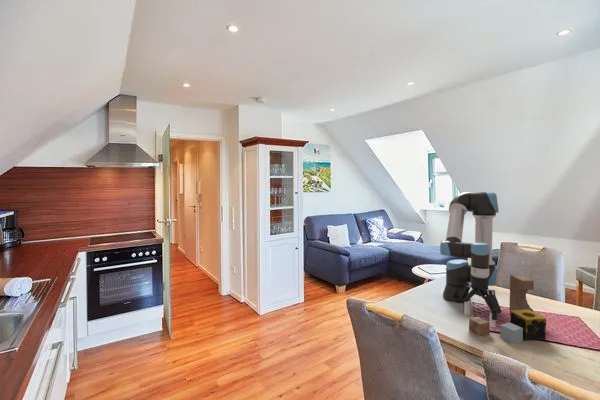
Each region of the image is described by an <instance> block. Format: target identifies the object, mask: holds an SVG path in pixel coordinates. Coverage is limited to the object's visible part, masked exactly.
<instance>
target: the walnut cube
mask: <svg viewBox="0 0 600 400" xmlns="http://www.w3.org/2000/svg"><path fill="white" fill-rule="evenodd" d="M489 323H490V320H489V321H488V320H487V319H484V318H482V317H480V316H475V317H471V318H468V331H469V332H470V333H472V334H474V335H476V336H478V337H484V336H487V335H490V328H491V327H490V326H489Z"/></svg>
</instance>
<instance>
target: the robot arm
mask: <svg viewBox="0 0 600 400" xmlns="http://www.w3.org/2000/svg"><path fill="white" fill-rule="evenodd" d="M448 212H449V216H448V217H449V218H448V222H447V223H448V224H447V231H446V236H445V240H442V241H440V244H439V245H440V246H439V251H440V255H442V256H446V257H454V258H455V257H456V258H466V259H450V260H448V261H447V262H446V265H445V267H446V268H445V270H446V271H445V287H444V290H443V291H442V298H443V299H444V300H447V301H448V302H452V303H458V304H463V308H464V310H463V311H464V312H463V313H464V316H469V315H471V299H472V298H473V297H474V295H475V296H479V297H480V298H481V299H483V301H484V302H485V304H486V305H487V307H488V309H489V310H490V312H489V322H490V323H489V326H490V328H493V327H496V321H497V320H498V314H500V313H502V309H501V306H500V304H499V301H498V298H497V296H496V291H495V289H489V287H494V286H495V285H496V283H497V277H498V269H499V267H498V266H497V265H496V263H495V261H494V260H493V222H494V221H493V219H494V218H496V216H497V214H498V213H499V212H500V211H499V203H498V195H497V193H495V192H492V191H465V192H460V193H459V194H458V195H456V196H455V197H454V198H453V199H452V200H451V201H450V202H449V205H448ZM467 212H469V213H472V216H473V217H474V218H475V225H474V228H475V229H474V234H475V235H474V239H475V240H474V242H462V241H463V233H464V232H463V231H464V224H465V215H466V214H467ZM467 259H470V263H469V261H467ZM470 289H471V290H470Z"/></svg>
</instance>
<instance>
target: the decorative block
mask: <svg viewBox="0 0 600 400" xmlns="http://www.w3.org/2000/svg"><path fill="white" fill-rule="evenodd" d="M534 282H535V281H534V279H533V280H532V279H531V278H529V277H526V276H524V275H522V274H520V273H518V274H510V277H509V311H510V310H527V309H528V310H531V311H533V312H534V309H533V308H532V307H530V305H529V303H528V300H527V292H528V291H533V290H534V289H535V288H534V287H535V285H534V284H535V283H534Z"/></svg>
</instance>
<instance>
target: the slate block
mask: <svg viewBox="0 0 600 400" xmlns="http://www.w3.org/2000/svg"><path fill="white" fill-rule="evenodd" d="M499 337H500V338H501V339H503V340H505V341H507V342H509V343H511V344H517V343H520V342H523V341H524V339H523V328H522V327H519V326H517V325H515V324H512V323H510V322H506V323H502V324H500V336H499Z"/></svg>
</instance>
